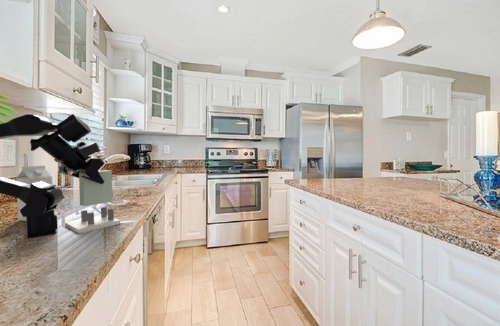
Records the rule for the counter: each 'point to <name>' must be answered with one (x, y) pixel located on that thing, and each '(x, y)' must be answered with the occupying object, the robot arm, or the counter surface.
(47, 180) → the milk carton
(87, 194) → the grey upright panel
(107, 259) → the counter surface
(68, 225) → the cabinet base
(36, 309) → the counter surface
